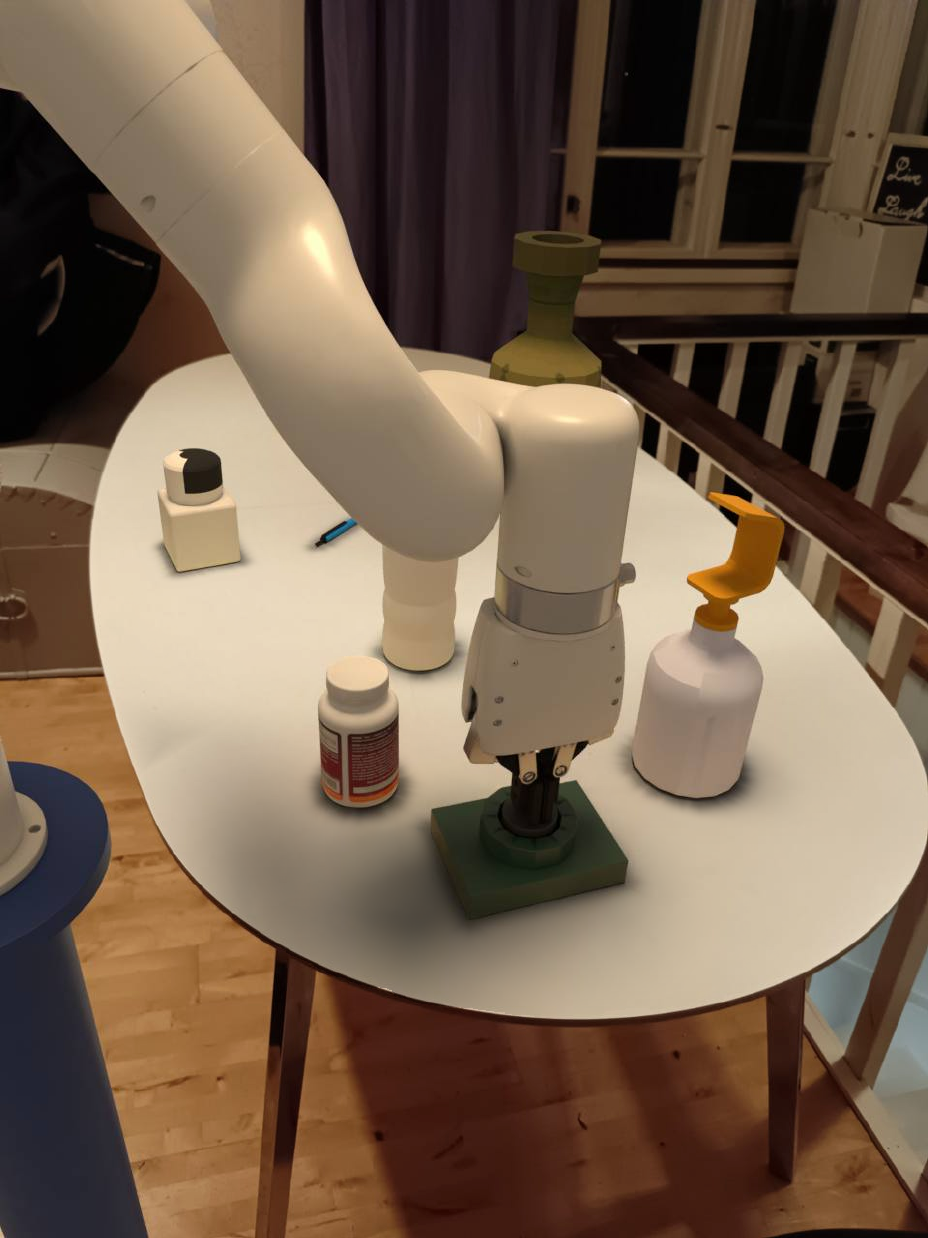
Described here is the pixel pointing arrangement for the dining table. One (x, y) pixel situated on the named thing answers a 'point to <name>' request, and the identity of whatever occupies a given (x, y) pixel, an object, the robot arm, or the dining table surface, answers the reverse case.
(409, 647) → the water bottle
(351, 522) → the pen
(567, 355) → the vase
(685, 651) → the soap bottle
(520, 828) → the brown push button
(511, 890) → the green button base
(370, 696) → the pill bottle
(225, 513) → the medicine bottle
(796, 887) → the dining table surface
